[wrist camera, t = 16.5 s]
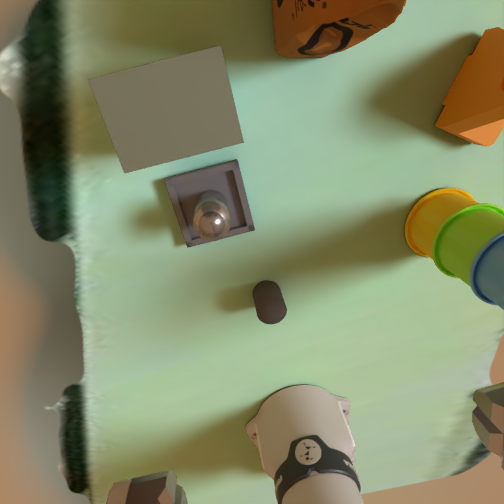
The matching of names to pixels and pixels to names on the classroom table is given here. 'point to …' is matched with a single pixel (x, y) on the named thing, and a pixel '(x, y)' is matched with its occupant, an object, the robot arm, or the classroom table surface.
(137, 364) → the classroom table surface
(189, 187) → the tray
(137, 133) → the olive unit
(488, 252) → the stacking cups
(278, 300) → the cylinder
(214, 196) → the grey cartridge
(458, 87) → the bracket
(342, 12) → the coffee package
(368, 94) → the classroom table surface
